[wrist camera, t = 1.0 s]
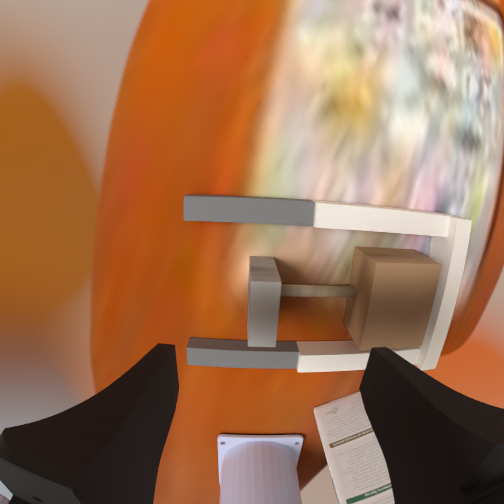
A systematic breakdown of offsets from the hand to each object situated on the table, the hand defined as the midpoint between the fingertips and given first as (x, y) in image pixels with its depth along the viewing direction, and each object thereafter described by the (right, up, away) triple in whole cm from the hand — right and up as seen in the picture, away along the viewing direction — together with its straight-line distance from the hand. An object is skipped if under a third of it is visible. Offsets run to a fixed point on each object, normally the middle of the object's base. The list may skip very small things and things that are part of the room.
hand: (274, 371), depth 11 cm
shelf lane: (+8, +2, +11) cm, 14 cm away
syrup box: (+8, -11, +15) cm, 20 cm away
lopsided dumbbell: (+5, +2, +11) cm, 12 cm away
